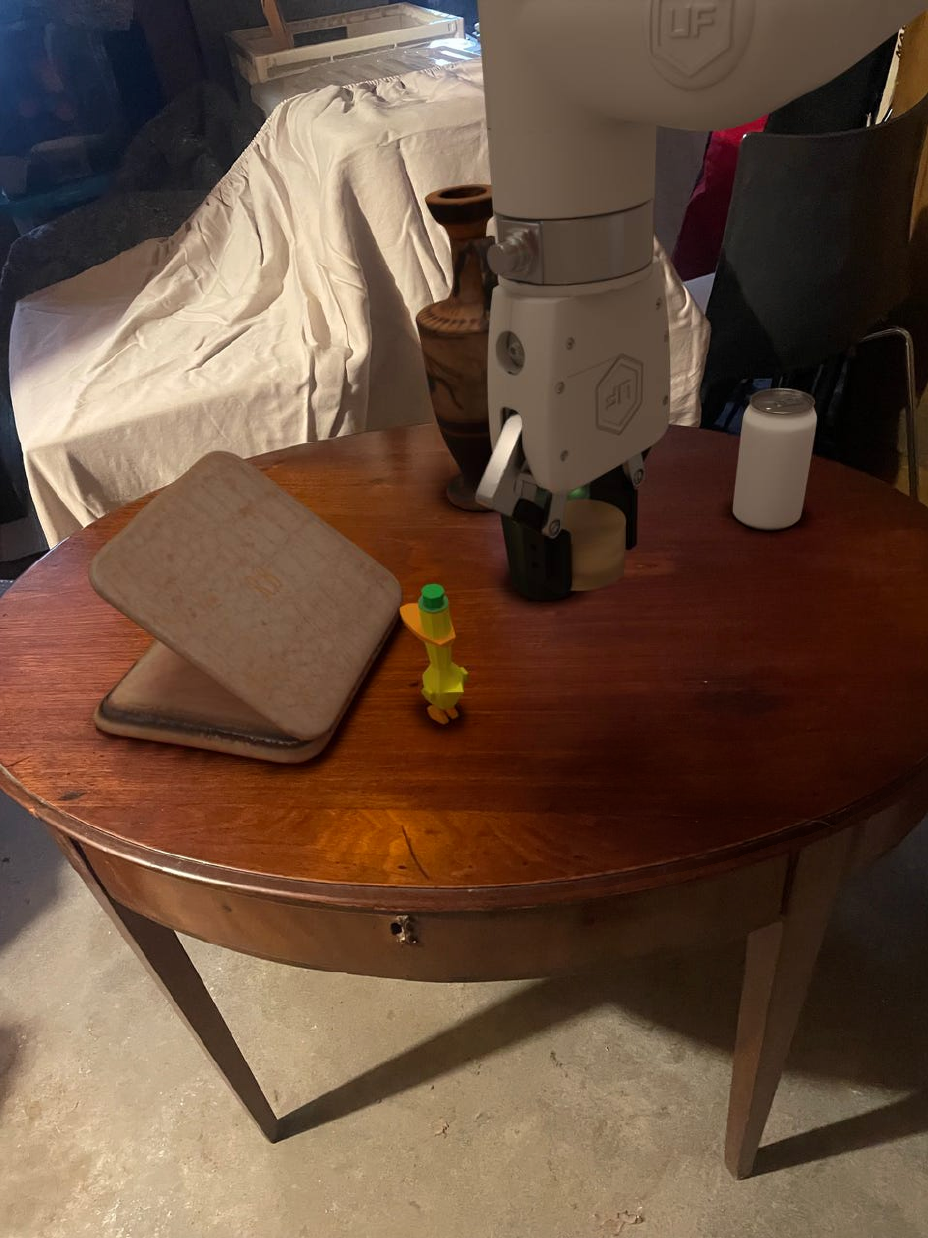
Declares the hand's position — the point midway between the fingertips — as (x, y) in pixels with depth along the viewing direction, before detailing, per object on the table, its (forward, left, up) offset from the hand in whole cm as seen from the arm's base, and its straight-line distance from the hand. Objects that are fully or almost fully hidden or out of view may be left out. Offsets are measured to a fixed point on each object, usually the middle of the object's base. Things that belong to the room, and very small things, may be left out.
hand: (581, 559), depth 52 cm
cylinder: (0, 0, -1) cm, 1 cm away
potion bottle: (+8, -21, -17) cm, 28 cm away
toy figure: (+11, -2, -17) cm, 21 cm away
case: (+28, -3, -17) cm, 33 cm away
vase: (+19, -36, -17) cm, 44 cm away
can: (-10, -37, -17) cm, 42 cm away
